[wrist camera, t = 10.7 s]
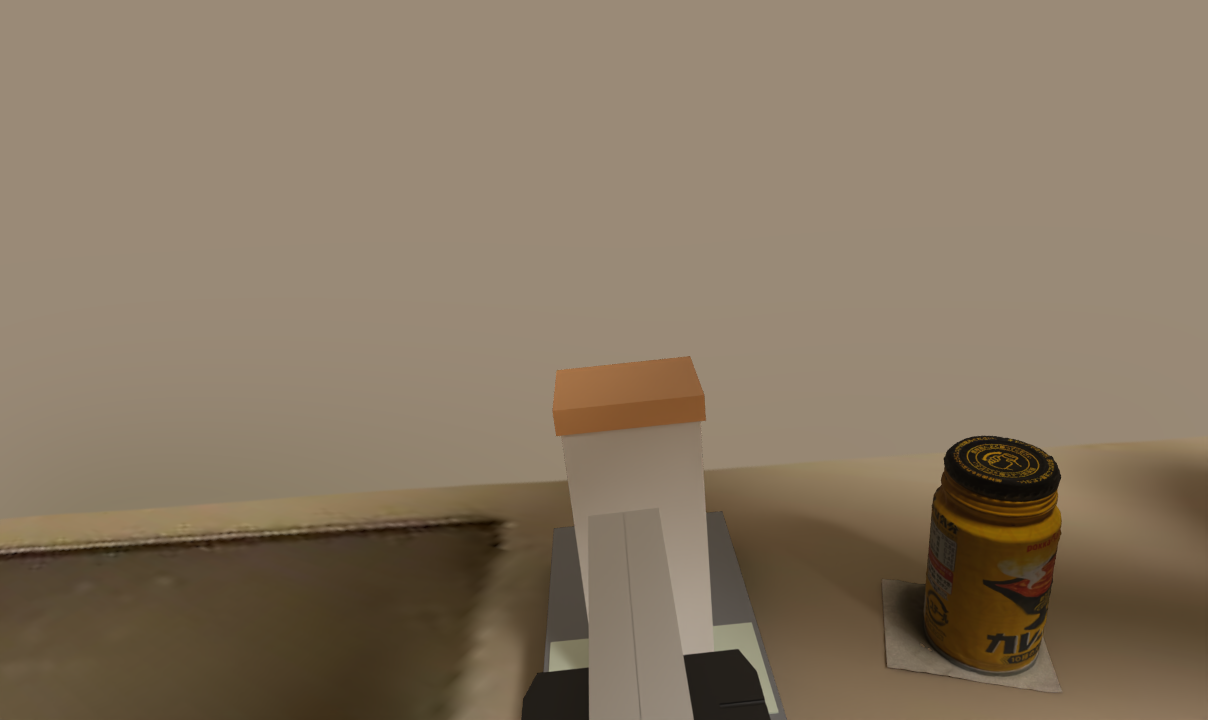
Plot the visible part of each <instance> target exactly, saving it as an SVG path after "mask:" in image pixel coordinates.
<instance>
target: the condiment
mask: <svg viewBox="0 0 1208 720" xmlns="http://www.w3.org/2000/svg"><path fill="white" fill-rule="evenodd" d="M944 465H945V467H944V472H943V474H942V477H941V484H942V485H941V486H940V487H939V488H938V489H937V490H936V492H935V494H934V497H933V504H932V516H931V528H930V541H929V553H928V563H927V572H926V584H915V583H908V582H904V581H900V580H889V579H882V594H883V611H884V626H885V637H886V638H885V640H886V655H887V667H890V668H896V669H907V670H911V671H916V672H928V673H932V674H938V675H947V676H951V677H957V678H963V679H968V680H972V681H977V682H983V683H991V684H999V685H1003V686H1011V687H1016V688H1022V689H1033V690H1037V691H1043V692H1053V693H1057V692H1062V690H1061V687H1060V684H1059V681H1058V678H1057V675H1056V673H1055V669H1054V667H1053V665H1052V661H1051V659H1050V655H1049V652H1048V650H1047V647H1046V644H1045V640H1044V637H1043V632H1044V625H1045V623H1046V616H1047V610H1048V603H1049V596H1050V593H1051V586H1052V583H1053V570H1054V565H1055V559H1056V553H1057V548H1058V542H1059V539H1060V535H1061V530H1060V528H1061V522H1062V520H1061V512H1060V511H1059V509H1058V507H1057V506H1056V504H1057V501H1058V493H1057V489H1058V486H1059V482H1060V480H1061V474H1060V471H1059V469H1058V465H1057V463H1056V462H1055V461H1054V459H1053V457H1052V456H1049V455H1048V454H1047V453H1045V452H1044V451H1043V450H1041V449H1040V448H1037V447H1035V446H1033V445H1030V444H1027V443H1025V442H1022V441H1019V440H1015V439H1009V438H1002V437H997V436H976V437H970V438H966V439H964V440H962V441H960V442H957V443H956V444H954V445H953V446H952V447H951V448H950V449H949V450H948V451H947V452H946V455H945V457H944ZM920 643H921V644H923V645H924V646H925V647H922V646H921V645H920ZM927 648H930V649H931V650H932V651H929V650H928V649H927Z"/></svg>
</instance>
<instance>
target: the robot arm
mask: <svg viewBox="0 0 1208 720" xmlns="http://www.w3.org/2000/svg"><path fill="white" fill-rule="evenodd" d="M588 602H589V667H587V668H578V669H569V670H560V671H551V672H542V673H537V675H536V677H535V678H534V680H533V682H532V684H531V686H530V688H529V689H528V691H527V693H526V695H525V697H524V699H523V707H522V717H521V720H771V719H770V715H769V712H768V708H767V705H766V703H765V698H764V694H763V691H762V687H761V684H760V680H759V677H758V673H757V671H756V669H755V668H754V667H753V666H752V665H751V663H750V662H749V661H748V660H747V659H746V658H745V656H744V655H743V654H742V653H741V652H740V650H739V649H732V650H724V651H715V652H706V653H697V654H688V655H683V652H682V646H681V640H680V634H679V627H678V621H677V615H676V609H675V603H674V597H673V591H672V585H671V579H670V573H669V567H668V561H667V555H666V549H665V543H664V537H663V531H662V525H661V519H660V513H659V508H652V509H644V510H635V511H626V512H618V513H609V514H601V515H592V516H588Z"/></svg>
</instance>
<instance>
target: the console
mask: <svg viewBox="0 0 1208 720" xmlns="http://www.w3.org/2000/svg"><path fill="white" fill-rule="evenodd" d="M706 521H707V537H708V554H709V571H710V588H711V604H712V621H713V638H714V652H715V651H724V650H732V649H739V650H740V652H741V653H742V654H743V655H744V656H745V658H746V659H747V660H748V661H749V662H750V663H751V665H752V666H753V667H754V668H755V669H756V671H757V673H758V677H759V680H760V684H761V687H762V691H763V694H764V698H765V703H766V705H767V708H768V712H769V715H770V719H771V720H787V718H786V715H785V712H784V709H783V705H782V702H781V699H780V696H779V692H778V689H777V686H776V683H775V680H774V676H773V673H772V670H771V667H770V664H769V660H768V657H767V654H766V651H765V648H764V644H763V641H762V638H761V635H760V631H759V628H758V625H757V622H756V619H755V615H754V612H753V609H752V606H751V603H750V599H749V596H748V593H747V590H746V586H745V583H744V580H743V577H742V574H741V570H740V567H739V564H738V561H737V558H736V554H735V551H734V548H733V545H732V542H731V538H730V535H729V532H728V529H727V525H726V522H725V519H724V516H723V513H722V511H720V512H710V513H706ZM587 667H589V624H588V617H587V610H586V603H585V596H584V589H583V582H582V575H581V568H580V561H579V554H578V547H577V540H576V534H575V527H574V526H573V527H563V528H554V534H553V548H552V562H551V576H550V590H549V603H548V617H547V631H546V645H545V659H544V672H551V671H560V670H569V669H578V668H587Z"/></svg>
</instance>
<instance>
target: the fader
mask: <svg viewBox="0 0 1208 720" xmlns="http://www.w3.org/2000/svg"><path fill="white" fill-rule="evenodd" d="M553 418H554V424H555V431H556V436H562V442H563V450H564V457H565V464H566V471H567V478H568V485H569V492H570V499H571V506H572V513H573V520H574V527H575V534H576V540H577V547H578V554H579V561H580V568H581V575H582V582H583V589H584V596H585V603H586V610H587V617H588V624H589V602H588V516H592V515H601V514H609V513H618V512H626V511H635V510H644V509H652V508H659V513H660V519H661V525H662V531H663V537H664V543H665V549H666V555H667V561H668V567H669V573H670V579H671V585H672V591H673V597H674V603H675V609H676V615H677V621H678V627H679V634H680V640H681V646H682V652H683V655H688V654H697V653H706V652H714V638H713V621H712V604H711V588H710V571H709V554H708V537H707V521H706V504H705V487H704V471H703V454H702V439H701V438H702V437H701V421H705V420H706V415H705V398H704V393H703V390H702V388H701V385H700V382H699V379H698V377H697V374H696V371H695V369H694V366H693V363H692V360H691V358H690V356H688V357H678V358H669V359H660V360H650V361H641V362H631V363H622V364H612V365H603V366H594V367H584V368H575V369H565V370H557V373H556V382H555V392H554V401H553Z"/></svg>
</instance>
